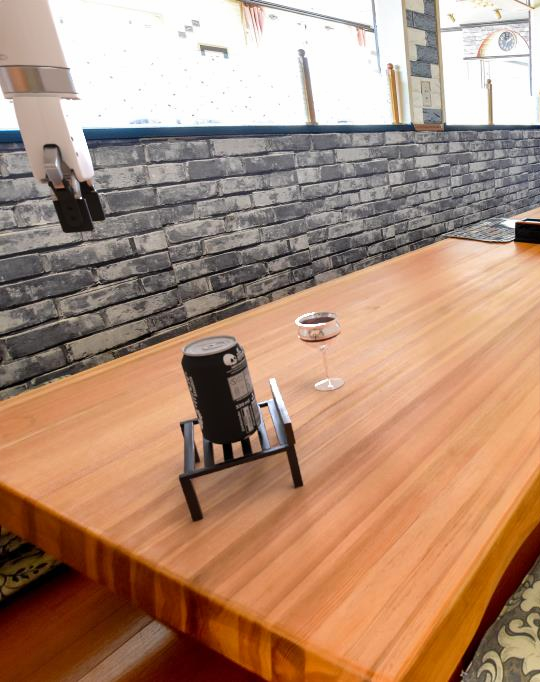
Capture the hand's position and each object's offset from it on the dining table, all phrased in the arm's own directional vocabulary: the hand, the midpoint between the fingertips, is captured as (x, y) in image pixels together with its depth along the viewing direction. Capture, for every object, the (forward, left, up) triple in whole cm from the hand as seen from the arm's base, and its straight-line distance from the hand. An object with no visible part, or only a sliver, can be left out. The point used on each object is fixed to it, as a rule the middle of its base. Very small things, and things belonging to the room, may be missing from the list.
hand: (86, 226), depth 72 cm
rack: (+12, -24, -30) cm, 40 cm away
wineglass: (+27, -4, -30) cm, 40 cm away
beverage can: (+11, -24, -24) cm, 36 cm away
